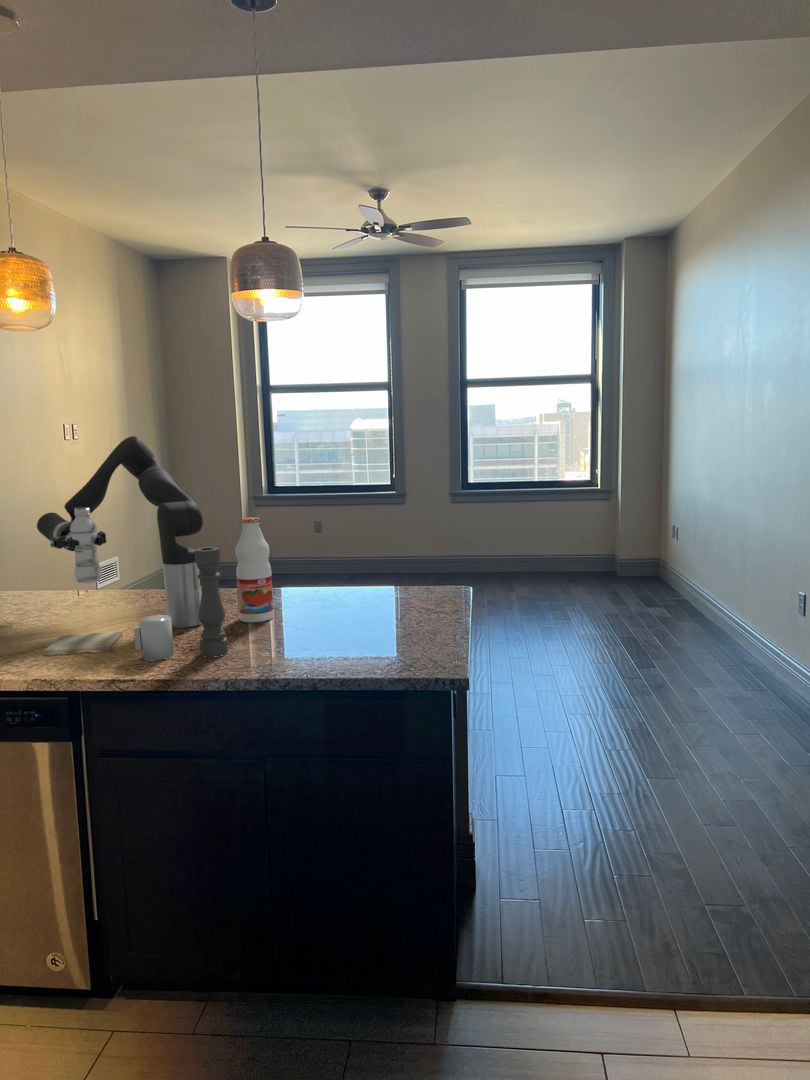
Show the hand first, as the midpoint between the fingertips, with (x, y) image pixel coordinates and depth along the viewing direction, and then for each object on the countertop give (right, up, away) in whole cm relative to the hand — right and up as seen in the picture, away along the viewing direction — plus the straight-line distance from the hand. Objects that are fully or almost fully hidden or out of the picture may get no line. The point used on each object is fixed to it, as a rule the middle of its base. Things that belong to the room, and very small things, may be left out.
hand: (87, 543), depth 195 cm
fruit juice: (+42, -21, +12) cm, 48 cm away
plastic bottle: (-1, -11, +4) cm, 11 cm away
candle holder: (+38, -26, -18) cm, 49 cm away
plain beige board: (+3, -25, -9) cm, 27 cm away
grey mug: (+25, -26, -19) cm, 41 cm away
